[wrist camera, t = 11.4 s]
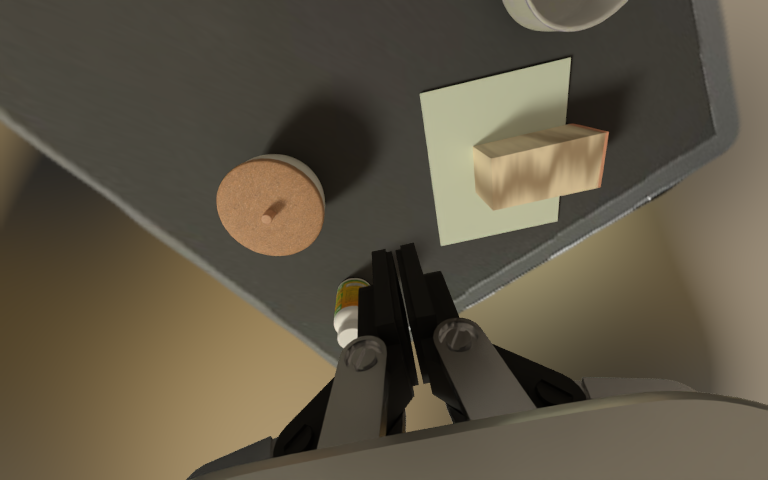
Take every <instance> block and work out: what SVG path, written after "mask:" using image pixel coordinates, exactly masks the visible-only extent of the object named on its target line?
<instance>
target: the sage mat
mask: <svg viewBox="0 0 768 480" xmlns="http://www.w3.org/2000/svg"><path fill="white" fill-rule="evenodd" d="M570 64H571V57H570V58H565V59H561V60H557V61H553V62H549V63H544V64H540V65H536V66H532V67H528V68H524V69H519V70H515V71H511V72H507V73H503V74H499V75H495V76H490V77H486V78H482V79H478V80H474V81H470V82H465V83H461V84H457V85H453V86H449V87H445V88H441V89H436V90H432V91H428V92H424V93H420V100H421V107H422V114H423V121H424V128H425V136H426V143H427V150H428V157H429V164H430V171H431V179H432V186H433V193H434V200H435V207H436V215H437V222H438V229H439V236H440V243H441V246H444V245H448V244H453V243H458V242H462V241H467V240H472V239H476V238H481V237H486V236H490V235H495V234H500V233H504V232H509V231H514V230H518V229H523V228H528V227H532V226H537V225H542V224H546V223H551V222H555V221H558V209H559V197H560V196H558V197H553V198H549V199H544V200H540V201H535V202H531V203H526V204H522V205H517V206H512V207H508V208H503V209H499V210H494V211H493V210H492V209H491V208H490V207H489V206H488V205H487V204H486V203H485V202H484V201H483V200H482V199H481V198H480V196H479V195H478V194H477V193H476V191H475V176H474V161H473V146H476V145H481V144H485V143H489V142H494V141H498V140H502V139H507V138H511V137H515V136H520V135H524V134H528V133H533V132H537V131H541V130H546V129H550V128H554V127H558V126H563V125H565V124H566V112H567V100H568V88H569V76H570Z"/></svg>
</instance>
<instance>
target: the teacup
mask: <svg viewBox="0 0 768 480" xmlns="http://www.w3.org/2000/svg"><path fill="white" fill-rule="evenodd" d="M627 1H628V0H503V3H504V6H505V7H506V9H507V11H508V13H509V14H510V15H511V17H512V18H513V19H514V20H515V21H516V22H517V23H519V24H520V25H522V26H524V27H526V28H528V29H532V30H536V31H562V32H573V31H580V30H584V29H587V28H590V27H593V26H595V25H597V24H599V23H601V22H603V21H604V20H606V19H607V18H609V17H610V16H611V15H612V14H614V13H615V12H616V11H618V10H619V9H620V8H621V7H622V6H623V5H624V4H625V3H626V2H627Z"/></svg>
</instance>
